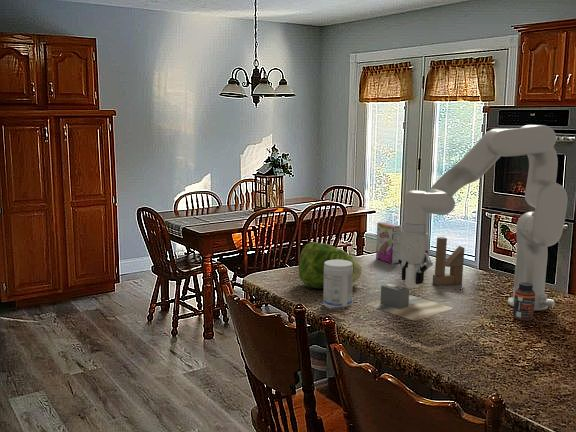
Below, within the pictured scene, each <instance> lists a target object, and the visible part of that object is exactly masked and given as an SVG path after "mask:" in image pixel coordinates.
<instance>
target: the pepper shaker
mask: <svg viewBox="0 0 576 432" xmlns="http://www.w3.org/2000/svg"><path fill="white" fill-rule="evenodd" d="M416 272H418V270H417V264H413V263H409V262H408V268H406V275H405V280H404V284H405V286H406V288H408V289H410V288H411V289H418V288H419V286H420V284H416Z"/></svg>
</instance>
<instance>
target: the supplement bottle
mask: <svg viewBox="0 0 576 432" xmlns="http://www.w3.org/2000/svg"><path fill="white" fill-rule="evenodd" d="M532 289H533V284H531V283H527V282H520V283H519V288H518V289H516V291H515V297H514V307H513V309H512V310H513V311H512V317H513V318H514V319H515V320H516V321H521V322H531V321H532V320H533V319H534V313H535V312H534V304H535V292H534V291H533V290H532Z"/></svg>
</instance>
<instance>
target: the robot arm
mask: <svg viewBox="0 0 576 432" xmlns="http://www.w3.org/2000/svg"><path fill="white" fill-rule="evenodd" d="M556 135H557V134H556V132H555V130H554V129H553V128H552V127H550V126H548V125H545V124H526V125H523V126H521V127H518V128H493V129H489V130H488V131H487V132H486V133H484V135H483V136H482V137H481V138H479V140H478V141H477V142H476V143H475V144H474V145H473V147H472V148H470V150H469V151H467V153H466V154H465V155H464V157H462V159H460V161H459V162H457V163H456V164H454V165H453V166H452V167H451V168H450V169H449V170H447V171H446V172H445V173H443V174H442V175H441V176H440V177H439V179H438V180H437V181H436V182H434V184H433V185H432V186H431V187H430V188H429V189H428V191H425V190H418V189H417V190H414V189H413V190H409V191H407V192H406V193H405V201H404V202H405V203H404V217H403V218H404V219H403V222H402V223H401V226H402V227H403V230H401V235H400V239H399V245H398V253H397V254H396V255H395V257H396V259H397V260H398V262H399V263H398V264H399V265H400V268H401V280H402V281H405V275H406V268H408V262H409V263H413V264H417V270H418V272H416V284H419V285H420V284H423V283H424V277H425V272H426V271H427V270H428V269H429V268H431V267H432V266H433V265H434V263H433V261H432V260H431V258H430V238H429V233H428V220H429V214H431V215H432V214H433V215H438V216H439V215H440V216H446V215H448V214H450V213H452V212H453V210H454V209H455V206H456V202H455V199H454V197H453V196H454V195H455V194H456V193H457V192H458V191H459V190H460V189H462V188H464V187H465V186H467V185H469V184H472V183H475V182H476V181H478V180H479V179H481V178H483V177H484V175H485V174H486V173H487V171H489V170H490V168H492V166H493V165H494V164H495V163H496V162H497V161H498V160H499V159H500V158H501V157H518V156H527V159H528V174H527V178H526V179H527V181H526V186H525V192H524V199H525V202H526V203H527V205H529V206H530V207H532V208H534V211H527V212H525V213H523V214H522V215H520V217H519V218H518V220H517V222H516V226H515V233H516V234H515V235H516V255H515V256H516V257H515V267H514V280H513V292H512V296H511V297H509V298H508V299H507V304H508V305H510V306H511V307H513V308H514V297H515V291H516V289H518V288H519V283H520V282H527V283H531V284H533V289H532V290H533V291H534V292H535V304H534V311H538V312H539V311H545V310H547V309H548V308H550V307H551V308H554V307H555V306H556V303H555V300H554V299H549V298H548V294H547V293H545V290H546V288H545V287H546V277H547V266H548V254H549V253H548V247H552V246H554V245H556V244H557V243H558V242H559V240H561V237H562V235H563V232H564V228H565V221H566V215H567V208H568V194H567V191H566V189H565V188H564V187H563V186H562V185H561V184H559V183H557V177H558V167H559V165H558V163H559V160H558V155H557V151H556V149H555V147H554V146H555V145H556V141H557V136H556Z"/></svg>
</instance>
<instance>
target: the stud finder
mask: <svg viewBox="0 0 576 432" xmlns="http://www.w3.org/2000/svg"><path fill="white" fill-rule="evenodd" d="M409 295H410V288H408V287H405V286H400V285H398V284H394V283H392V282H390V283H385V284H382V285H380V300H381V301H380V300H379V301H380V303H382V304H385V305H388V306H391V307H394V308H397V309H402V308H406V307H408V306H409Z"/></svg>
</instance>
